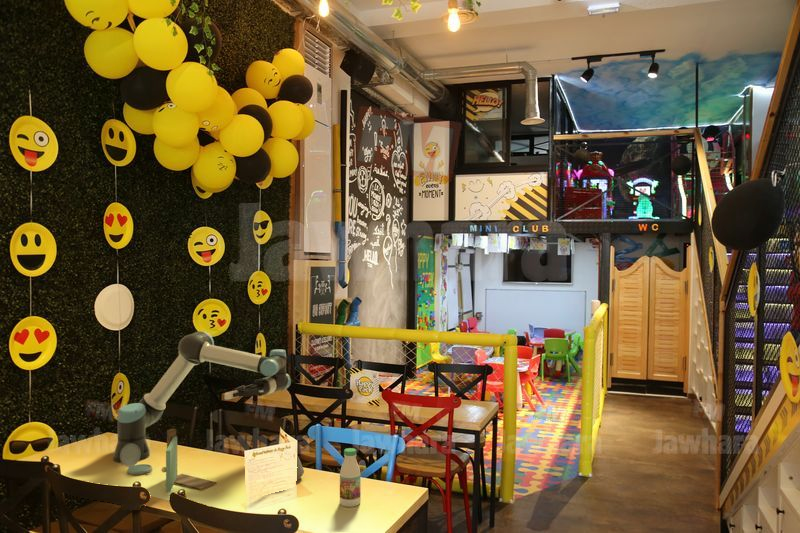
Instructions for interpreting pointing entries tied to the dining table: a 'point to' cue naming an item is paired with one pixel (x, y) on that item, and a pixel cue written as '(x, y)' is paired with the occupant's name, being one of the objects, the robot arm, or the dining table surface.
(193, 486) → the door frame
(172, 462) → the door
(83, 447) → the dining table surface
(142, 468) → the pocket watch
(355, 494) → the milk bottle
